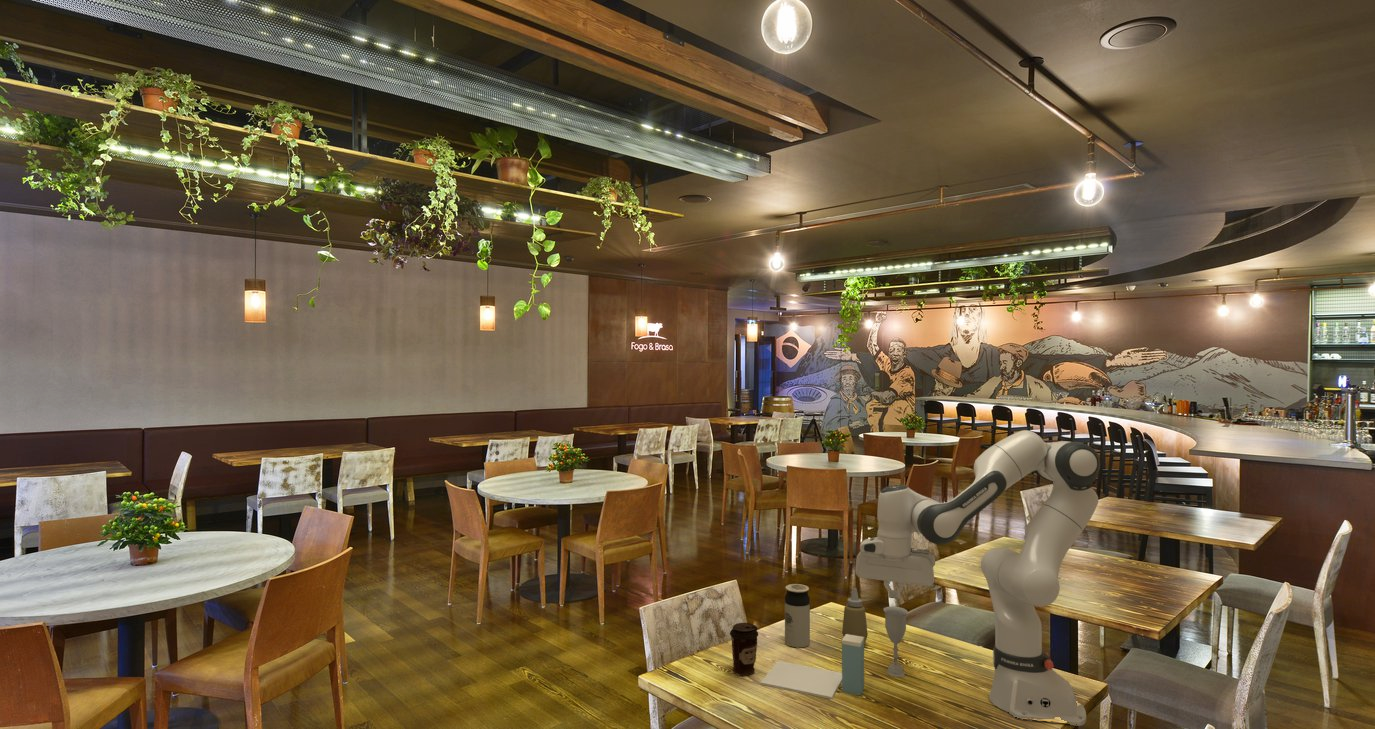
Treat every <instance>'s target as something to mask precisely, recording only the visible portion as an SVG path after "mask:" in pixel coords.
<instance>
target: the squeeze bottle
mask: <svg viewBox="0 0 1375 729" xmlns="http://www.w3.org/2000/svg"><path fill="white" fill-rule="evenodd" d="M846 602H847V604H846V605H845V606H844V610H843V620H842V629H841V631H842V632H841V635H842V636H843V638H844V636H845V635H846V634H849V635H855V636H861V637H864V646H865V644H866V642H867V638H868V636H869V634H868V625H867V615H866V614H867V612H866V607H864V605H863V600H862V598H859V593H858V589H857V587H853V588H852V591H851V596H850V597H848V598H847V601H846Z"/></svg>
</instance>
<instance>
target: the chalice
mask: <svg viewBox="0 0 1375 729" xmlns="http://www.w3.org/2000/svg"><path fill="white" fill-rule="evenodd" d="M883 612H884V616H885V617H884V619H885V620H884V623H885V625H884V627H885V631H886V633H887V636H888V638H889V640H890V642H891V643H892V644H893V648H892V650H893V655H892V657H893V660H894V661H893V662H892V663H890V664H889V665H888V666H889V667H888V668H887V670H886V674H888V675H889V676H891V677H894V678H895V677H896V678H901V677H905V675H906V674H905V672H904V668H903V666H902V665H901V664H899V662H898V658H899V657H900V656H899V654H898V652H899V649H898V648H899V647H898V644H901V643H902V640H903V638H904V636H905V633H906V631H907V615H908V613H909V612H908V610H907V609H906V608H903V607H899V606H886V607H884V608H883Z"/></svg>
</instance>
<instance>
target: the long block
mask: <svg viewBox="0 0 1375 729" xmlns="http://www.w3.org/2000/svg"><path fill="white" fill-rule="evenodd" d="M841 673H842V682H841V692H842V693H845V694H851V695H857V696H862V693H863V691H864V689H865V645H864V637H861V636H855V635H849V634H846V635H845V636H844V637H843V638H842V640H841Z"/></svg>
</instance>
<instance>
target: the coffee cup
mask: <svg viewBox="0 0 1375 729" xmlns="http://www.w3.org/2000/svg"><path fill="white" fill-rule="evenodd" d="M758 629H759V628H758V627H757V625H756V624H752V623H751V622H750V623H749V622H738V623H736V624H734V625H733V626H732V628H731V629H730V632H729V635H730V640H731V649H732V651H731V652H732V653H731V654H732V661H733V662H732V663H733V668H732V670H733V672H734V674H736V675H738V676H750V675H752V674H754V673H755V670H756V669H755V663H756V660H757V650H758V637H759V632H758Z"/></svg>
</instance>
